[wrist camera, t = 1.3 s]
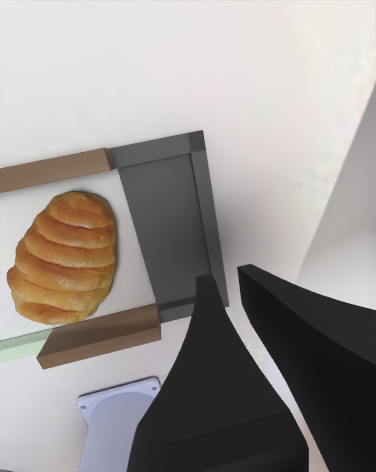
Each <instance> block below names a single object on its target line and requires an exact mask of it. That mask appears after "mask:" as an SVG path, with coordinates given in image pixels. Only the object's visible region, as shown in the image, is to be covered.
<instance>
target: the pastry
mask: <svg viewBox="0 0 376 472" xmlns="http://www.w3.org/2000/svg"><path fill="white" fill-rule="evenodd" d="M116 238H117V235H116V222H115V219H114V216H113V213H112V210H111V208H110V206H109V205H108V203H107V202H106V201H105V200H104V199H103V198H100V197H98V196H96V195H94V194H90V193H83V192H78V191H71V192H67V193H64V194H62V195H58V196H55V197H54V198H53V199H52V200H51V202H50V203H49V204H48V205H47V207H46V208H45V209H44V210H43V211H42V212H41V213H39V214H38V215H37V216H36V218H35V219H34V221H33V224H32V226H31V227H30V228H29V229H28V230H27V232H26V234H25V236H24V237H23V238H22V239H21V240H20V241H19V242H18V245H17V247H16V258H15V265H14V266H13V267H12V268H10V269H9V270H8V272H7V282H8V285H9V287H10V289H11V294H12V298H13V300H14V303H15V309H16V311H17V312H18V313H19V314H20V315H22V316H23V317H25V318H28V319H30V320H32V321H36V322H40V323H43V324H47V325H55V324H61V323H63V324H72V323H76V322H79V321H82V320H83V319H85V318H88V317H89V316H91V315H93V314H94V313H95V312H96V311H97V309H98V306H99V305H100V303H101V302H103V301H104V300H105V298H106V297H107V296H108V294H109V293H110V290H111V283H112V281H113V276H114V273H115V270H116Z"/></svg>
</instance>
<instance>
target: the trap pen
mask: <svg viewBox="0 0 376 472" xmlns="http://www.w3.org/2000/svg"><path fill="white" fill-rule="evenodd" d="M110 152H111V156H112V159H113V162H114V166H115V168H118V171H119V175H120V178H121V182H122V185H123V189H124V192H125V195H126V199H127V202H128V206H129V209H130V213H131V216H132V220H133V223H134V226H135V230H136V233H137V237H138V240H139V244H140V247H141V251H142V254H143V258H144V261H145V264H146V268H147V271H148V275H149V278H150V282H151V285H152V289H153V292H154V295H155V299H156V302H157V312H158V316H159V319H160V322H161V323H164V322H168V321H173V320H177V319H181V318H185V317H189V316H192V313H193V309H194V304H195V297H196V281H195V279H196V278H197V277H198V276H202V275H206V274H211V275H212V276H213V278H214V279H215V281H216V284H217V287H218V290H219V293H220V296H221V299H222V302H223V305H224V308H225V307H229V301H228V294H227V288H226V281H225V274H224V268H223V261H222V254H221V248H220V241H219V234H218V228H217V221H216V215H215V208H214V201H213V195H212V188H211V181H210V175H209V168H208V161H207V155H206V148H205V141H204V135H203V130H201V131H196V132H191V133H186V134H181V135H176V136H171V137H166V138H161V139H156V140H151V141H146V142H141V143H135V144H130V145H125V146H120V147H115V148H110Z"/></svg>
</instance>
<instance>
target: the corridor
mask: <svg viewBox="0 0 376 472" xmlns="http://www.w3.org/2000/svg"><path fill="white" fill-rule="evenodd" d="M112 169H115V166H114V162H113V159H112V156H111V152H110V149H108V148H101V149H96V150H91V151H86V152H81V153H76V154H71V155H66V156H61V157H56V158H51V159H46V160H41V161H36V162H31V163H26V164H21V165H16V166H11V167H6V168H1V169H0V193H2V192H7V191H12V190H16V189H21V188H26V187H31V186H36V185H41V184H46V183H51V182H55V181H60V180H65V179H70V178H75V177H80V176H85V175H90V174H94V173H99V172H104V171H109V170H112ZM158 340H161V322H160V319H159V316H158V312H157V303H156V304H152V305H148V306H144V307H140V308H135V309H131V310H127V311H123V312H119V313H115V314H111V315H107V316H102V317H98V318H94V319H90V320H86V321H82V322H78V323H74V324H70V325H65V326H61V327H57V328H53V330H52V332H51V333H50V335H49V337H48V338H47V340H46V342H45V344H44V345H43V347H42V349H41V351H40V352H39V354H38V356H37V357H36V358H37V360H38V362H39V364H40V365H41V367H42V369H47V368H51V367H55V366H59V365H63V364H67V363H71V362H75V361H79V360H83V359H87V358H91V357H95V356H99V355H103V354H107V353H110V352H114V351H118V350H122V349H126V348H130V347H134V346H138V345H142V344H146V343H150V342H154V341H158Z"/></svg>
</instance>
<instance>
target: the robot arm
mask: <svg viewBox="0 0 376 472" xmlns="http://www.w3.org/2000/svg"><path fill="white" fill-rule="evenodd" d="M237 269H238V277H239V285H240V293H241V301H242V305H243V308H244V310H245V312H246V314H247V317H248V319H249V321H250V323H251V325H252V326H253V328H254V330H255V331H256V333H257V335H258V336H259V338H260V340H261V341H262V343H263V344H264V346H265V348H266V349H267V351H268V352H269V354H270V356H271V357H272V359H273V360H274V362H275V364H276V365H277V367H278V369H279V370H280V372H281V374H282V376H283V377H284V379H285V381H286V382H287V385H288V387H289V389H290V391H291V393H292V395H293V397H294V399H295V401H296V403H297V405H298V407H299V409H300V411H301V413H302V415H303V417H304V419H305V421H306V423H307V425H308V427H309V430H310V432H311V434H312V436H313V438H314V440H315V442H316V444H317V447H318V449H319V450H320V453H321V455H322V457H323V459H324V461H325V464H326V466H327V468H328V470H329V472H376V310H373V309H369V308H365V307H361V306H356V305H353V304H349V303H346V302H342V301H339V300H336V299H333V298H330V297H326V296H323V295H320V294H318V293H315V292H312V291H310V290H307V289H304V288H302V287H299V286H297V285H295V284H292V283H290V282H288V281H286V280H283V279H281V278H279V277H277V276H275V275H273V274H271V273H269V272H267V271H264V270H262V269H260V268H258V267H256V266H254V265H252V264H248V265H244V266H240V267H237ZM195 281H196V297H195V304H194V309H193V313H192V317H191V321H190V325H189V328H188V331H187V334H186V337H185V339H184V342H183V344H182V347H181V349H180V352H179V354H178V356H177V358H176V361H175V363H174V365H173V367H172V368H171V370H170V372H169V374H168V376H167V378H166V380H165V381H164V383H163V385H162V387H161V388H160V385H159V382H158V380H157V379H156V378H151V379H147V380H143V381H139V382H135V383H131V384H128V385H124V386H120V387H116V388H112V389H109V390H105V391H101V392H97V393H93V394H90V395H86V396H82V397H79V398H78V399H77V402H76V405H77V407H78V409H79V410H80V412H81V414H82V416H83V418H84V419H85V421H86V423H87V425H88V430H87V435H86V439H85V443H84V447H83V451H82V455H81V459H80V463H79V467H78V471H77V472H309V448H308V445H307V442H306V440H305V438H304V436H303V434H302V432H301V430H300V428H299V426H298V425H297V422H296V421H295V419H294V417H293V415H292V413H291V411H290V409H289V408H288V407H287V405H286V404H285V403H284V401H283V400H282V399H281V398H280V396H279V395H278V394H277V392H276V391H275V390H274V388H273V387H272V385H271V384H270V382H269V381H268V380H267V378H266V377H265V375H264V374H263V373H262V372H261V370H260V368H259V367H258V365H257V364H256V362H255V361H254V359H253V358H252V356H251V355H250V353H249V351H248V350H247V348H246V347H245V345H244V343H243V342H242V340H241V338H240V337H239V335H238V333H237V331H236V330H235V328H234V326H233V324H232V322H231V321H230V319H229V317H228V315H227V313H226V310H225V308H224V305H223V302H222V299H221V296H220V293H219V290H218V287H217V284H216V281H215V279H214V278H213V276H212V275H211V274H206V275H202V276H198V277H197V278H196V279H195Z"/></svg>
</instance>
